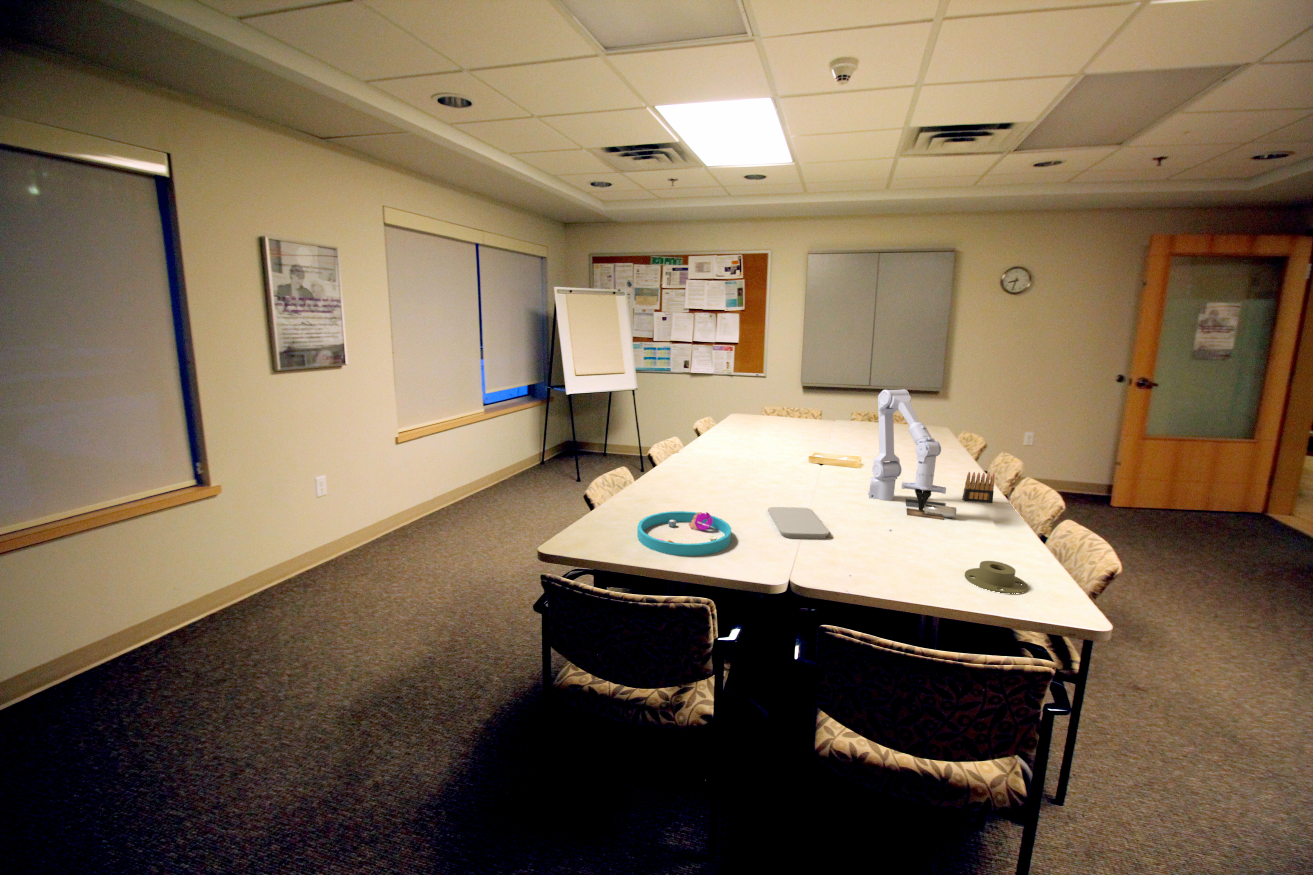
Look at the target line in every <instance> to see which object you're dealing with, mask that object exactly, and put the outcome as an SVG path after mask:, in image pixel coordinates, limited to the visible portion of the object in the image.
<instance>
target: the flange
mask: <svg viewBox="0 0 1313 875" xmlns="http://www.w3.org/2000/svg"><path fill="white" fill-rule="evenodd" d="M964 578H965V579H966V581H967V582H968V583H970V584H972V585H973V584H974V586H975V585H976V587H977V586H978V588H979V589H982V588H983V589H982V590H985V589H987V590H986V591H988V590H990V591H989V592H992V591H995V592H994V593H996V592H1000V593H999V594H1001V593H1010V594H1009V595H1017V594H1016V593H1022V592H1025V591H1026V590H1027V591H1028V584H1027V583H1026V582H1025V581H1024V580H1023V579H1021V578H1020V577H1018V576H1016V569H1015V568H1014V567H1013V566H1011V565H1008V564H1007V563H1003V562H1000V561H994V560H984V561H981V562H980V563H979V567H974V568H973V567H972V568H970V569H967V570H966V571H964ZM1019 583H1020V584H1019ZM1021 584H1022V585H1021ZM1002 589H1003V590H1002ZM1027 591H1026V592H1027ZM1026 592H1025V593H1026ZM1012 593H1013V594H1012ZM1014 593H1015V594H1014ZM1022 594H1023V593H1022Z"/></svg>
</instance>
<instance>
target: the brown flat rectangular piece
mask: <svg viewBox="0 0 1313 875" xmlns="http://www.w3.org/2000/svg"><path fill="white" fill-rule="evenodd" d="M905 510H906V516H910V517H911V516H912V517H918V518H924V519H926V518H927V519H932V520H941V521H945V520H944V519H945V517H938V516H931V515H924V509H923V511H921V510H919V508H918V509H917V508H912V507H906V509H905Z"/></svg>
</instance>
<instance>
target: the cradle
mask: <svg viewBox="0 0 1313 875" xmlns="http://www.w3.org/2000/svg"><path fill="white" fill-rule="evenodd" d="M925 504H932V505H940V506H946V505H947V503H946V502H942V501H941V502H940V501H931V500H927V502H926V503H925ZM905 506H906V507H907V508H915V509H917V508H918V509H919V504H918V499H917V498H916V499H915V498H906V497H905ZM924 507H925V505H924Z"/></svg>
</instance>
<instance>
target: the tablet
mask: <svg viewBox="0 0 1313 875" xmlns="http://www.w3.org/2000/svg"><path fill="white" fill-rule="evenodd" d="M767 512H768V515H769V516H770V518H771V520H772V521H773V523H774V525H775V527H776V529H777V530H778V532H779V533H780V535H781V536H782V537H783V538H787V539H819V540H820V539H823V540H824V539H826V538H827V537H828V535H830V530H829V528H827V526H826V525H825V524H824V522H822V520H821V519H820V518H819V517H818V515H817V514H816V513H815V511H814V510H813V509H810V508H808V507H793V506H792V507H791V506H790V507H789V506H788V507H787V506H786V507H784V506H771V507H768V508H767Z"/></svg>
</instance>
